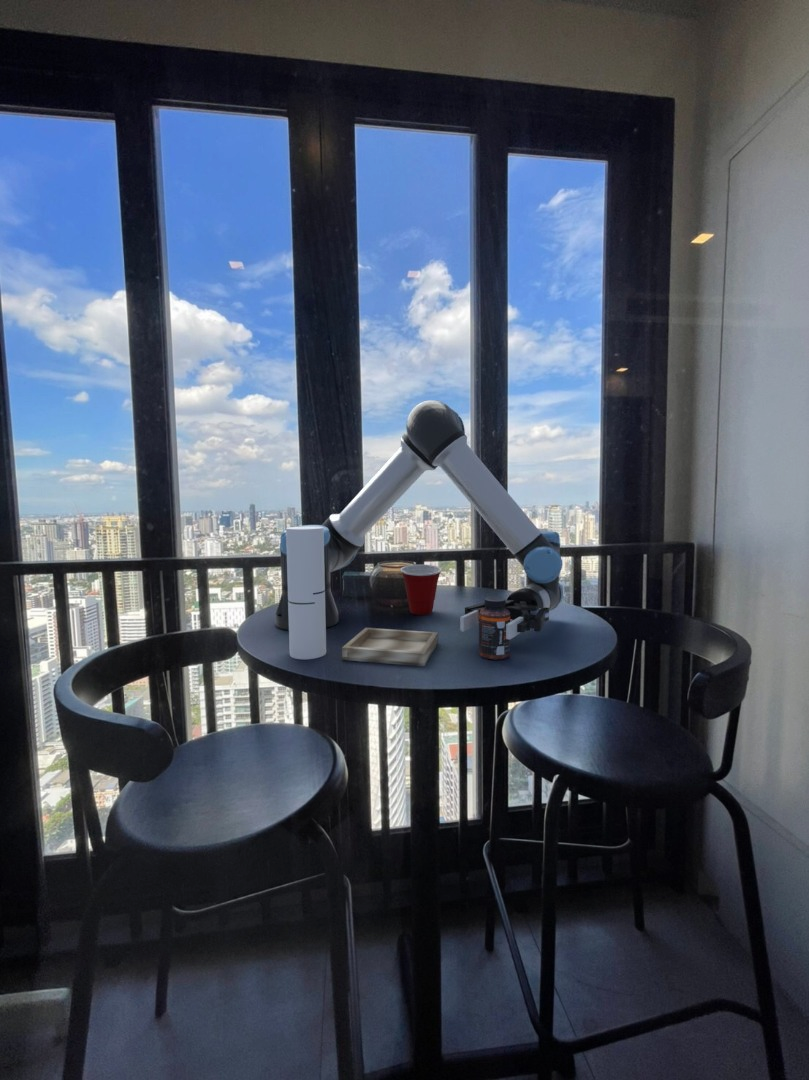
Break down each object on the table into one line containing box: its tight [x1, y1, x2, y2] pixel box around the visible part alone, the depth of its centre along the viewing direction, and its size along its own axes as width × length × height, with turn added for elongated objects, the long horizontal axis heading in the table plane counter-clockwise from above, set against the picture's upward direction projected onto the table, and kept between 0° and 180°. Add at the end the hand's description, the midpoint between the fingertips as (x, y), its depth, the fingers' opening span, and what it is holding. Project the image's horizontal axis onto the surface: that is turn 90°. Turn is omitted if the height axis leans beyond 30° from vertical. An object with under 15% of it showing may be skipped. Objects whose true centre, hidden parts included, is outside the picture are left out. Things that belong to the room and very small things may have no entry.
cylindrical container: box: [285, 526, 327, 660], centre depth 97 cm, size 7×7×25 cm
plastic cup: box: [400, 564, 442, 616], centre depth 130 cm, size 11×11×12 cm
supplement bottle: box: [478, 596, 511, 661], centre depth 96 cm, size 6×6×11 cm
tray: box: [341, 627, 439, 667], centre depth 99 cm, size 16×14×2 cm
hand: (484, 628), depth 92 cm, fingers open, 9 cm apart
